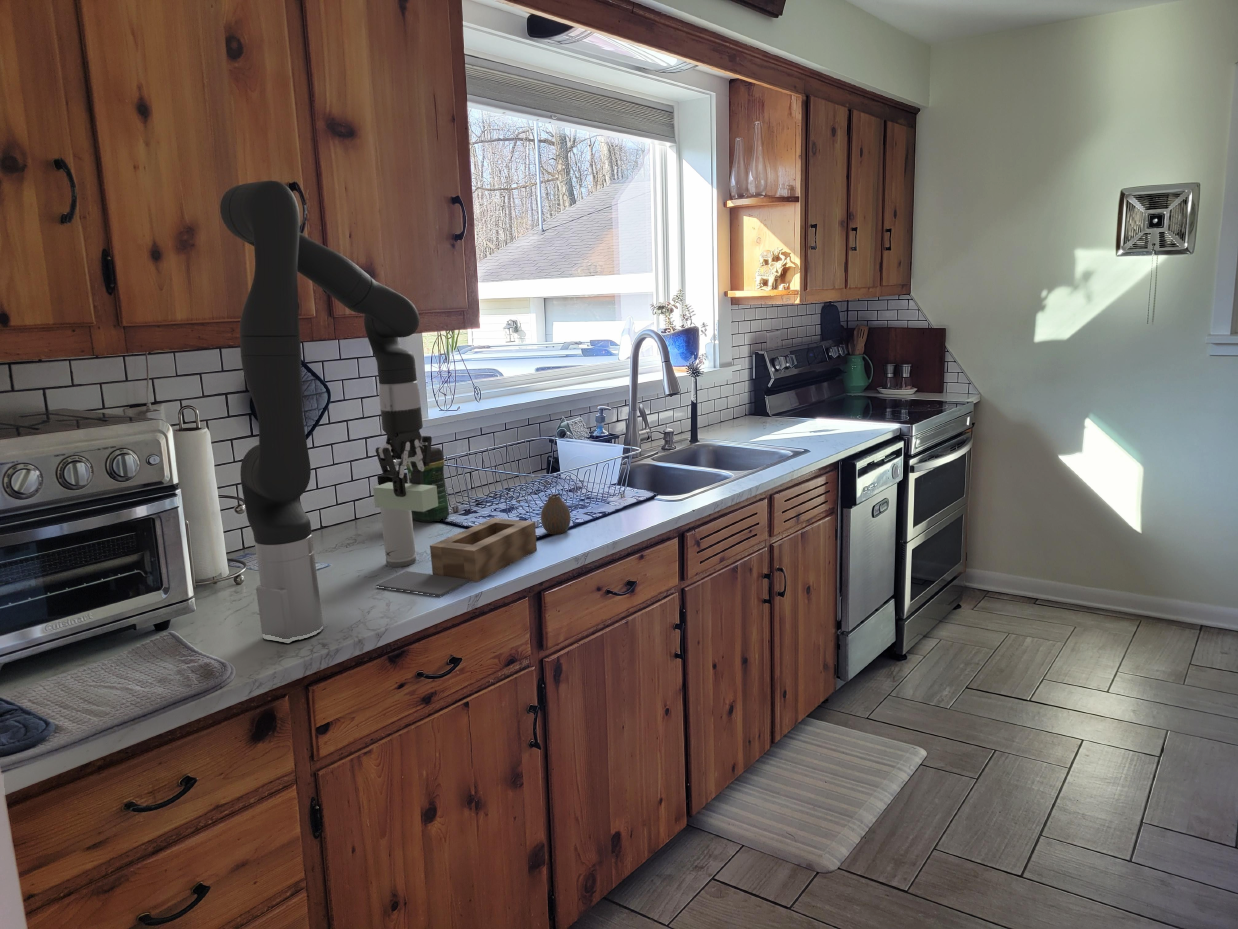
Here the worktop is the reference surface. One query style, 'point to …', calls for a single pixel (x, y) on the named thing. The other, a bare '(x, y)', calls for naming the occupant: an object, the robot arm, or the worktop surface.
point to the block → (406, 497)
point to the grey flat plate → (423, 583)
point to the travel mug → (397, 532)
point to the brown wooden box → (483, 549)
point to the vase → (555, 515)
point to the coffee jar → (436, 478)
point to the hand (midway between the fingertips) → (409, 492)
